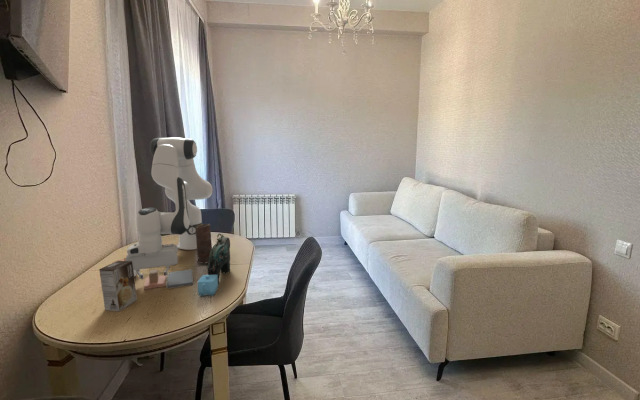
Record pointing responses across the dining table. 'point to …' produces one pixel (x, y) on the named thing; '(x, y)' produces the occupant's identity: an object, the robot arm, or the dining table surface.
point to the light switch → (154, 280)
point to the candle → (203, 242)
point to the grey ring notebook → (179, 279)
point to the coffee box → (118, 285)
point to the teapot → (207, 285)
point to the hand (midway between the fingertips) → (153, 276)
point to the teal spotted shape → (219, 257)
